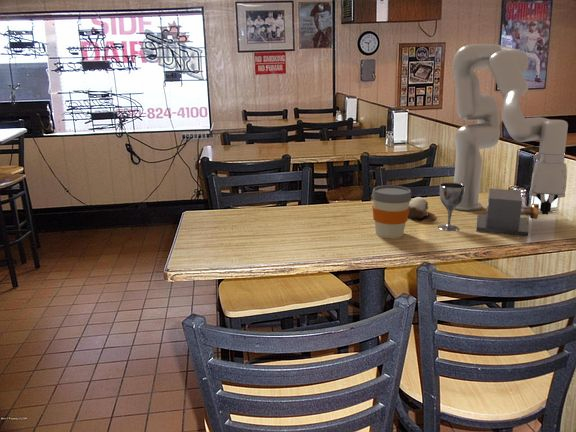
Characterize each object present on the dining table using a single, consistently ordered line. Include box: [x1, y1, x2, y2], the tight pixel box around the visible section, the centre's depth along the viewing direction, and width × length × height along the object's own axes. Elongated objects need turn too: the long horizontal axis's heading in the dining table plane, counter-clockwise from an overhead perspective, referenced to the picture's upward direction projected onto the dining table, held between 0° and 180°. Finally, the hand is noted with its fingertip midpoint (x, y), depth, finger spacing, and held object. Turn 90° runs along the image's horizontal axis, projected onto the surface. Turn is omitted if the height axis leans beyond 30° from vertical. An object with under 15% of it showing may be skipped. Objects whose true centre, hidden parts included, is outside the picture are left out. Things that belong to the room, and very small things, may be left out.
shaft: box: [485, 202, 540, 220], centre depth 183 cm, size 16×5×5 cm, turn 70°
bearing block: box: [475, 188, 530, 238], centre depth 184 cm, size 16×16×12 cm
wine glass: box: [437, 181, 465, 232], centre depth 183 cm, size 8×8×15 cm
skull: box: [407, 196, 437, 223], centre depth 196 cm, size 12×10×10 cm
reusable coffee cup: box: [371, 184, 412, 239], centre depth 177 cm, size 13×13×15 cm
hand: (544, 213), depth 179 cm, fingers closed
